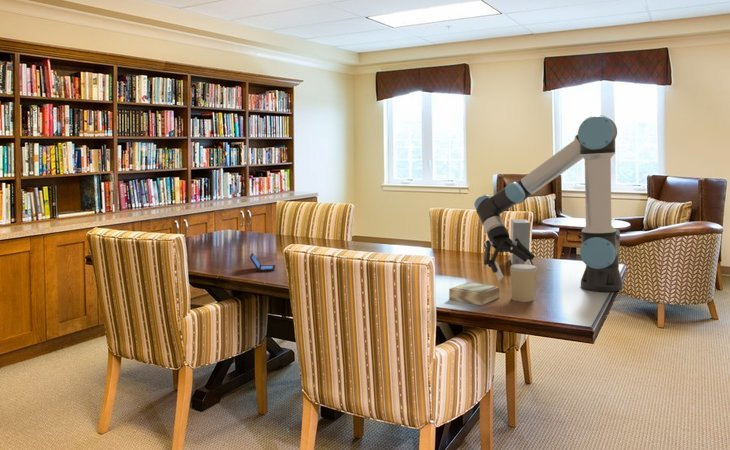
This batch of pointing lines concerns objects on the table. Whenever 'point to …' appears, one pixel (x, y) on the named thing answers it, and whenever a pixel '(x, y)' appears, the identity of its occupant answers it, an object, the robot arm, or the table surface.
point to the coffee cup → (523, 282)
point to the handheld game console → (261, 267)
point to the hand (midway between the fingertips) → (517, 277)
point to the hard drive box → (519, 236)
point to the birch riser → (474, 293)
